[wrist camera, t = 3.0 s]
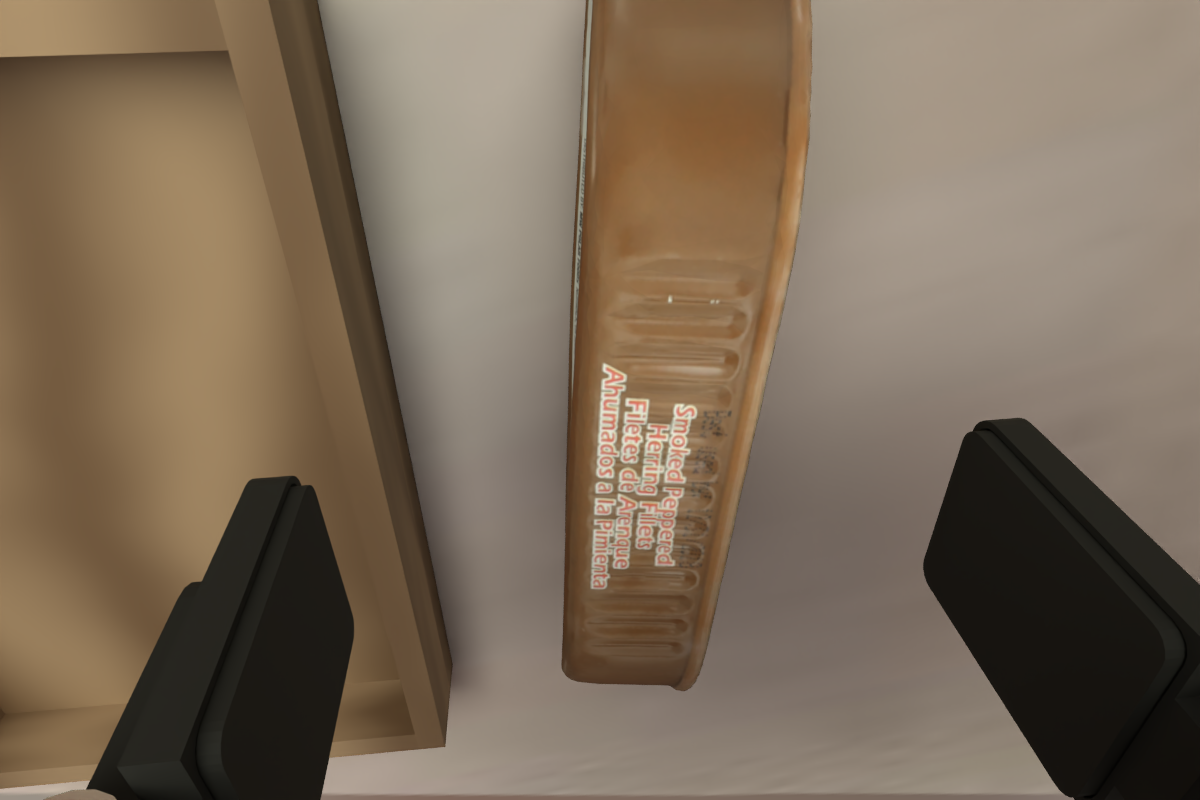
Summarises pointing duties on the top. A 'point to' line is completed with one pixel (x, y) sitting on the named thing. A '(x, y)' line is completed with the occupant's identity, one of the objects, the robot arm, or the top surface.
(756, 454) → the top surface
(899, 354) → the top surface
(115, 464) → the walnut tray
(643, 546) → the tin
